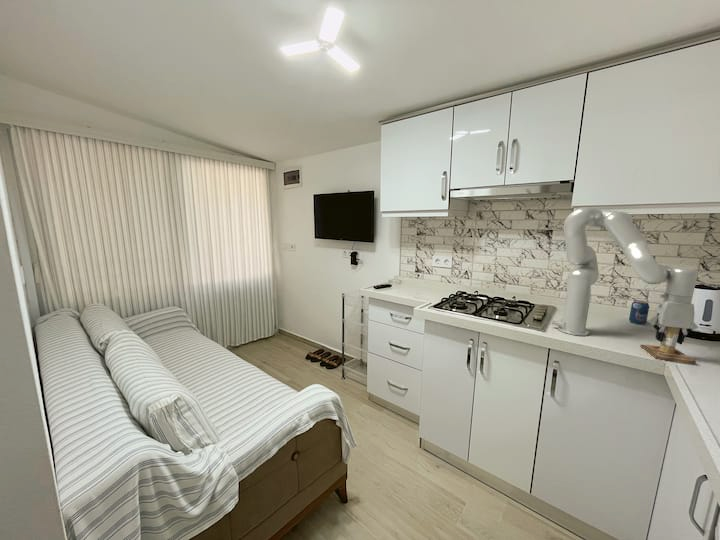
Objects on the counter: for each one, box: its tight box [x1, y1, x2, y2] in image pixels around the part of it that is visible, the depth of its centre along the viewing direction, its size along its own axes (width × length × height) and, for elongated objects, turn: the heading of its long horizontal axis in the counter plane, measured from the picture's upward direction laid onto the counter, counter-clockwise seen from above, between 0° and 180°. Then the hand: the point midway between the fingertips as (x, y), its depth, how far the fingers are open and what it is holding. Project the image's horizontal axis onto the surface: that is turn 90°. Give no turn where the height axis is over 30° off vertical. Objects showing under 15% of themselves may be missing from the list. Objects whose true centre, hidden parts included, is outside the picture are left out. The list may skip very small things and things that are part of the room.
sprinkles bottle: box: [659, 327, 680, 354], centre depth 122 cm, size 5×5×13 cm
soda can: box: [628, 300, 650, 326], centre depth 162 cm, size 7×7×12 cm
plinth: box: [639, 344, 697, 366], centre depth 123 cm, size 12×12×2 cm
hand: (668, 341), depth 122 cm, fingers open, 5 cm apart
